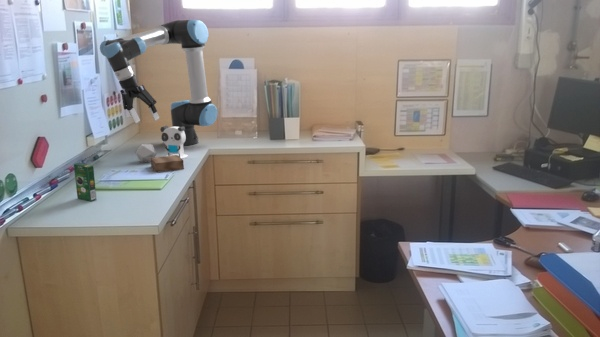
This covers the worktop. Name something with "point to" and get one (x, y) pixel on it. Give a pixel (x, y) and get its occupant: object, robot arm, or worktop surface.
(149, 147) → the die
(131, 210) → the worktop surface
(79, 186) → the coffee box
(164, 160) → the plinth
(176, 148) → the panda figurine
